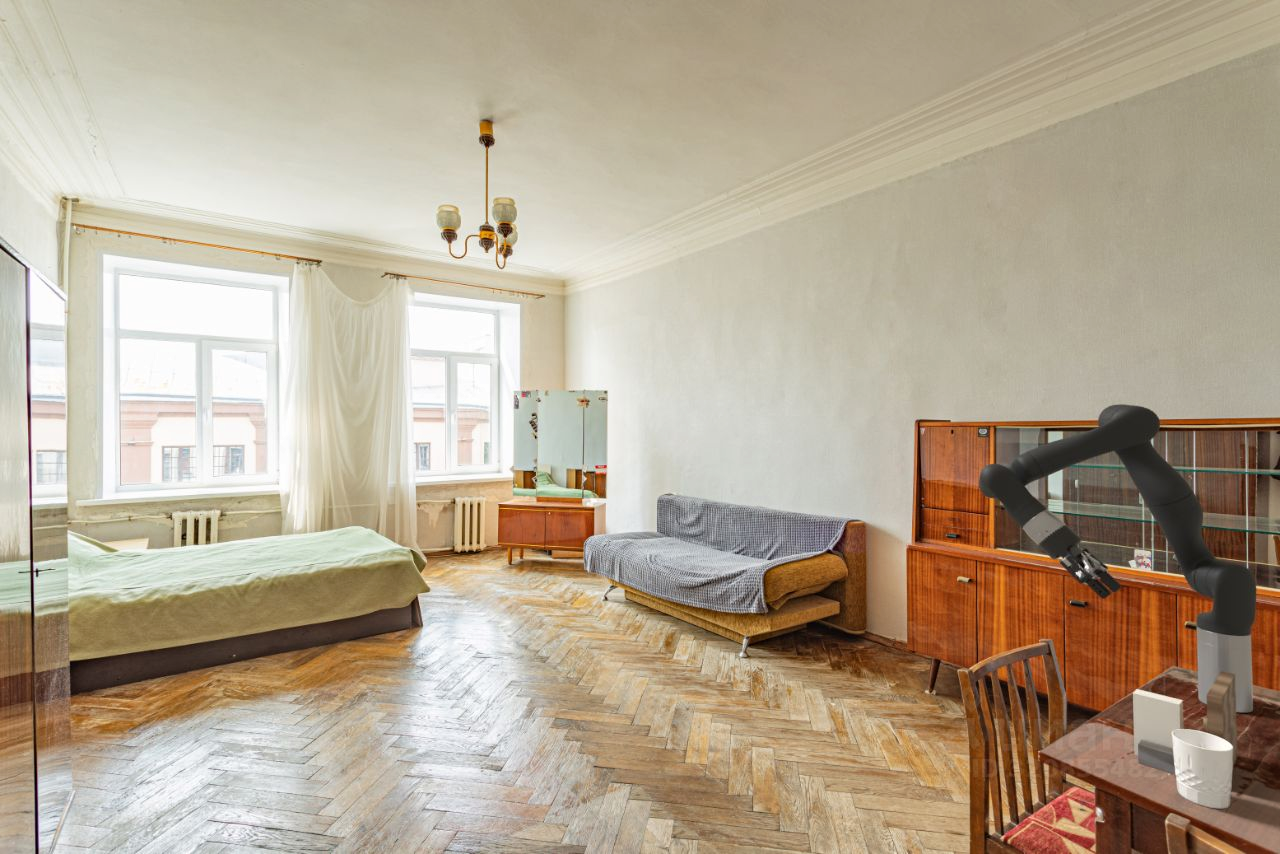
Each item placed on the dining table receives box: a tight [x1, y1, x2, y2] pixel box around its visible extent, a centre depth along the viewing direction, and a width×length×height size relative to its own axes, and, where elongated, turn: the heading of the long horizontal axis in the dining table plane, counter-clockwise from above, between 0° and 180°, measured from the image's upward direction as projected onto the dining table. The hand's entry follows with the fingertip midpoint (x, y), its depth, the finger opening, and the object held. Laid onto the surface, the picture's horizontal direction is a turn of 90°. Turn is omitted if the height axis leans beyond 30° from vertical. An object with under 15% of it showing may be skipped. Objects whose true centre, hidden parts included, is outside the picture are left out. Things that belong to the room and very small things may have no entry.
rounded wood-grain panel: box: [1137, 671, 1238, 775], centre depth 119 cm, size 17×12×16 cm
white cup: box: [1172, 728, 1234, 810], centre depth 107 cm, size 8×8×10 cm
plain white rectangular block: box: [1132, 688, 1184, 756], centre depth 120 cm, size 3×7×12 cm, turn 40°
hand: (1113, 593), depth 134 cm, fingers open, 8 cm apart
